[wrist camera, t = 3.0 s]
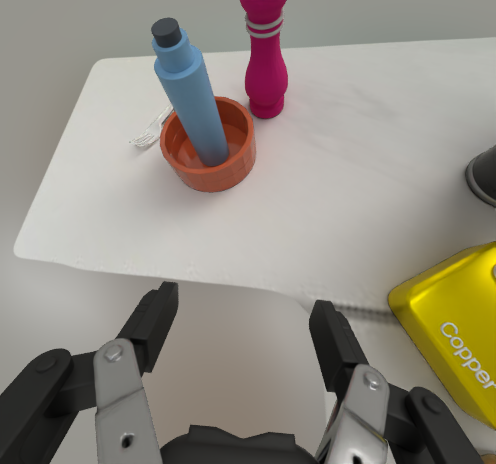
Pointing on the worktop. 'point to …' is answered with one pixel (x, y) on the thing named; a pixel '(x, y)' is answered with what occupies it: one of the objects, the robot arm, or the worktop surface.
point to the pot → (188, 162)
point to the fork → (153, 129)
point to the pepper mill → (265, 57)
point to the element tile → (456, 326)
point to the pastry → (489, 459)
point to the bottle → (189, 90)
